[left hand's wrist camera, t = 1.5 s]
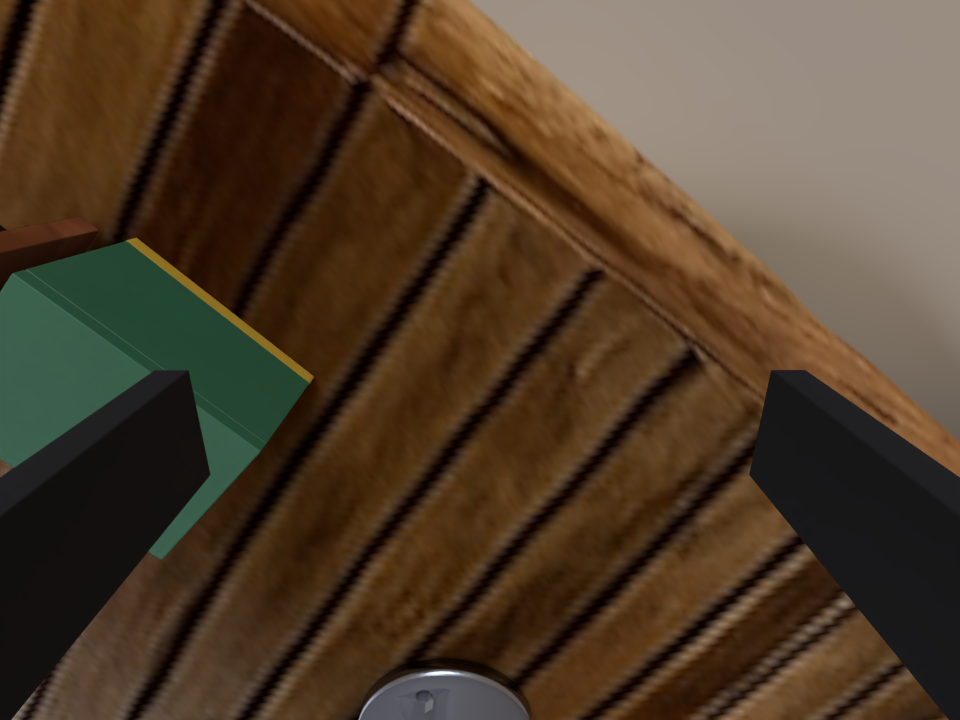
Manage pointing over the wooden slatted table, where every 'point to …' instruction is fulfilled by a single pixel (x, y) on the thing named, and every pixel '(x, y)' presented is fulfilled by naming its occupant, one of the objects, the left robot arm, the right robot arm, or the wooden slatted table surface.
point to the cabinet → (136, 360)
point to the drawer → (42, 244)
